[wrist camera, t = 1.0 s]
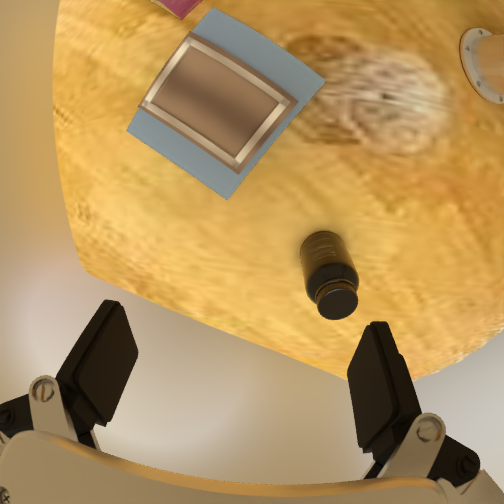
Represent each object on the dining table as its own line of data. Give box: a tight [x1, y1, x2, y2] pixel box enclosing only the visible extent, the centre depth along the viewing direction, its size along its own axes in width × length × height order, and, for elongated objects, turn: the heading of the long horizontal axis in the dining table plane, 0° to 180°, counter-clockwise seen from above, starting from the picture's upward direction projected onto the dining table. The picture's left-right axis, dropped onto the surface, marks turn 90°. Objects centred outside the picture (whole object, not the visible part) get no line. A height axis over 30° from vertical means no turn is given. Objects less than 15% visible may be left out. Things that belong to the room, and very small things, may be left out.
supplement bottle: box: [300, 232, 359, 320], centre depth 35 cm, size 7×7×12 cm
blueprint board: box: [126, 8, 326, 200], centre depth 30 cm, size 20×17×1 cm
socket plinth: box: [138, 31, 299, 175], centre depth 28 cm, size 11×15×4 cm
